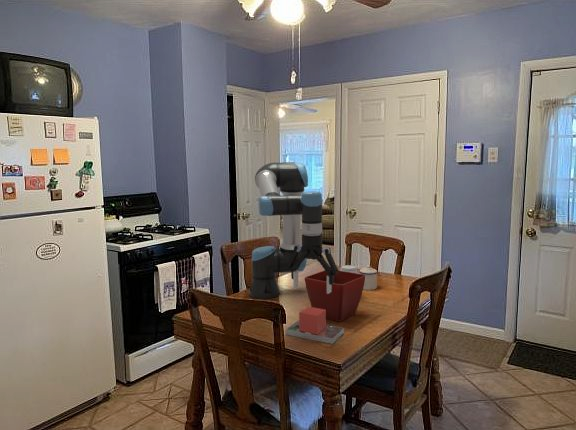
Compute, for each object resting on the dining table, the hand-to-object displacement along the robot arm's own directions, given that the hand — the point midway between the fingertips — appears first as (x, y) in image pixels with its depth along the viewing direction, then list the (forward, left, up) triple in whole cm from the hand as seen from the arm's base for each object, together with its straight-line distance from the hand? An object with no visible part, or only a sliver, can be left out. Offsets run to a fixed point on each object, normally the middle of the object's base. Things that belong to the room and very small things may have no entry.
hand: (312, 290), depth 160 cm
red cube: (0, 0, -15) cm, 15 cm away
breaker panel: (+1, +1, -17) cm, 17 cm away
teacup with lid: (-1, +66, -17) cm, 69 cm away
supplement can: (-3, +47, -17) cm, 50 cm away
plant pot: (0, +23, -17) cm, 29 cm away
